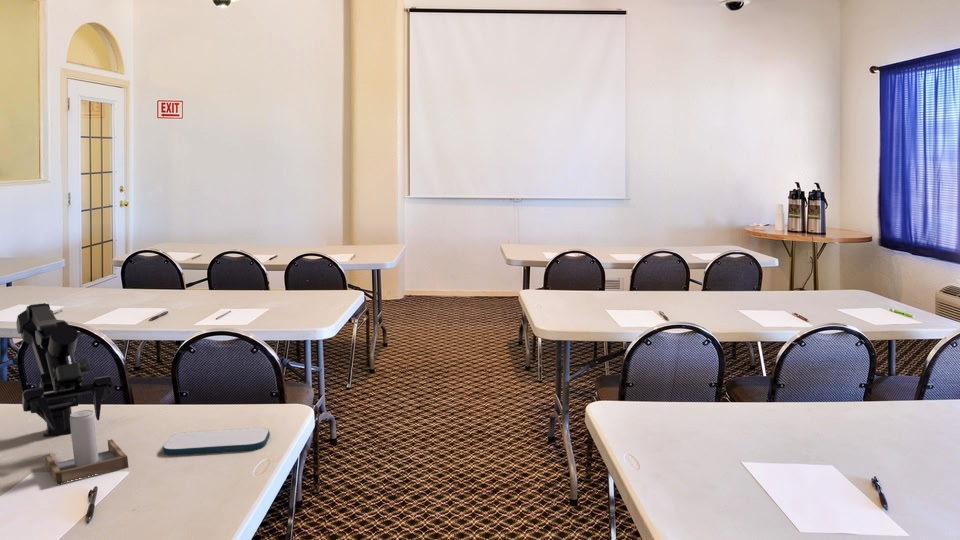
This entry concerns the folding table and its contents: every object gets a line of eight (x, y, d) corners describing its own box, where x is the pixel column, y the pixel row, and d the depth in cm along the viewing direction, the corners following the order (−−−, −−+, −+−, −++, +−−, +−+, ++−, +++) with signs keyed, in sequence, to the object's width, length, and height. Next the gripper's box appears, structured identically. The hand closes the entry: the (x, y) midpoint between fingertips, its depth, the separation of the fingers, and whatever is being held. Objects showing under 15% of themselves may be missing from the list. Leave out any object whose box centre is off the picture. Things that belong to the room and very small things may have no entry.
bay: (45, 465, 165) (44, 454, 164) (113, 449, 173) (112, 439, 173) (57, 485, 154) (56, 473, 154) (128, 467, 163) (127, 456, 162)
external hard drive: (272, 434, 183) (271, 426, 182) (264, 451, 171) (263, 443, 171) (174, 440, 180) (173, 432, 180) (159, 458, 168) (158, 450, 168)
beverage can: (81, 470, 160) (76, 418, 159) (70, 465, 163) (65, 414, 161) (102, 463, 164) (98, 412, 163) (91, 458, 167) (86, 408, 165)
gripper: (18, 356, 164) (31, 416, 157) (108, 342, 176) (124, 398, 169) (17, 382, 171) (29, 440, 165) (103, 367, 183) (118, 421, 176)
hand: (76, 424), depth 168 cm, fingers open, 9 cm apart
